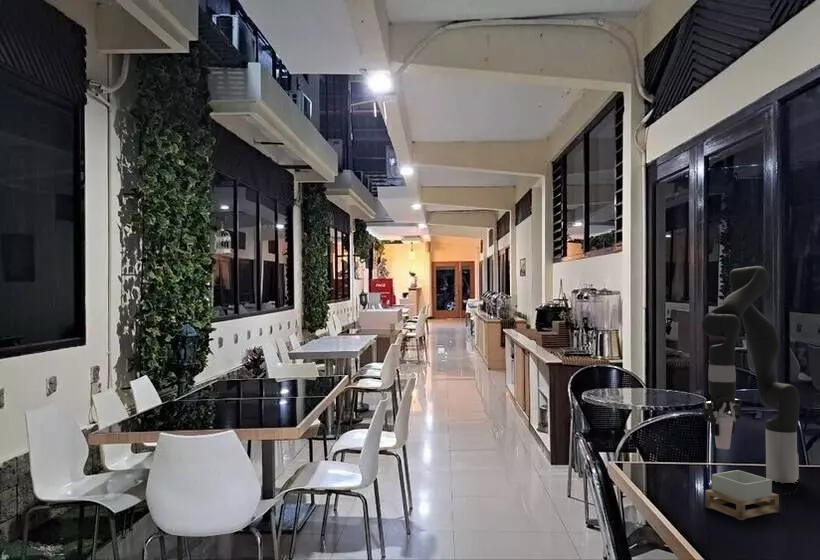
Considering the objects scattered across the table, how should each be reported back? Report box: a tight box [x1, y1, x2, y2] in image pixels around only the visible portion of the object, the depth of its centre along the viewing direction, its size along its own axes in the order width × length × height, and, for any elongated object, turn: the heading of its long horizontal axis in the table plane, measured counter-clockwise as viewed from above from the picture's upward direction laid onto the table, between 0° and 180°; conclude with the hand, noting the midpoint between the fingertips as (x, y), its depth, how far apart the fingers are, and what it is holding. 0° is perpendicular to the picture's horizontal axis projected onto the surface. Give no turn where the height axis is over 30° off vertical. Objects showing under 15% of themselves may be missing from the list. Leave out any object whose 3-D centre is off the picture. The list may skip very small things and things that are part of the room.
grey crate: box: [711, 469, 773, 501], centre depth 185 cm, size 11×11×5 cm
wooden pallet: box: [704, 488, 780, 521], centre depth 185 cm, size 16×12×5 cm
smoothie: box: [714, 412, 734, 450], centre depth 190 cm, size 6×6×14 cm
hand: (722, 434), depth 190 cm, fingers closed on smoothie, 5 cm apart
